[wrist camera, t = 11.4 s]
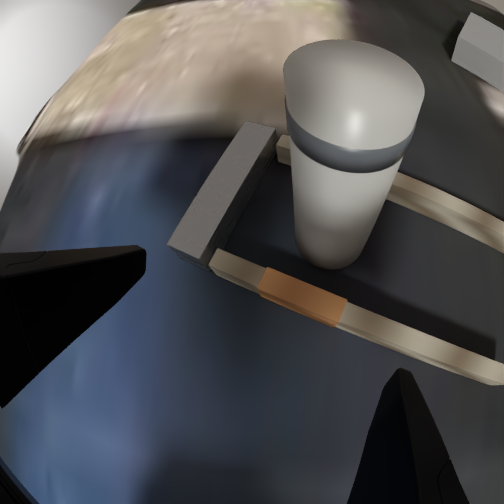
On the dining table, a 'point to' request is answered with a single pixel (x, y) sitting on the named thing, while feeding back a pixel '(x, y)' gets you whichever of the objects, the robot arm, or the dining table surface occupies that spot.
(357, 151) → the grey capped post
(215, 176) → the beige u-shaped frame
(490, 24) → the disc drive
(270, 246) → the dining table surface
